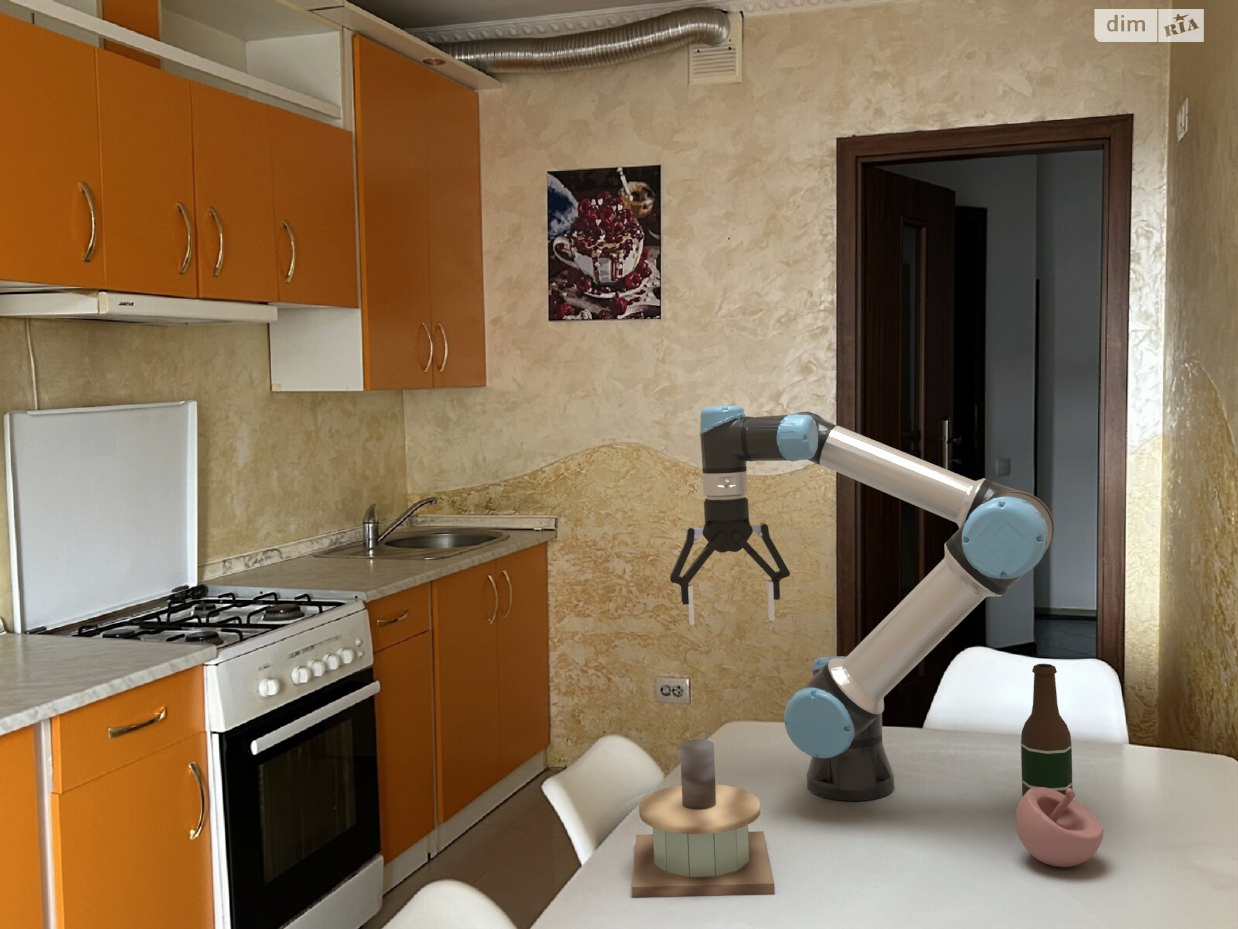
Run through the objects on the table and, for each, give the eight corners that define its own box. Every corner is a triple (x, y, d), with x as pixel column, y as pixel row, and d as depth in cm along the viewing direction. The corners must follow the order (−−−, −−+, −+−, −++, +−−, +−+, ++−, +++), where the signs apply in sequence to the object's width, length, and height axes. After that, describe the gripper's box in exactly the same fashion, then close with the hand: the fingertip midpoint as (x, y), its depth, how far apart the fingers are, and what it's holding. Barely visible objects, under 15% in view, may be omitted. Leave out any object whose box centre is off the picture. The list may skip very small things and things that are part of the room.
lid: (756, 790, 188) (753, 725, 187) (764, 832, 170) (762, 761, 169) (640, 793, 189) (638, 729, 188) (637, 835, 171) (634, 765, 170)
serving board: (763, 840, 189) (763, 831, 189) (774, 894, 169) (774, 883, 169) (636, 844, 190) (636, 834, 190) (632, 897, 170) (632, 887, 170)
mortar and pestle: (1095, 886, 167) (1093, 806, 166) (1007, 871, 173) (1005, 793, 173) (1111, 856, 177) (1109, 780, 177) (1027, 843, 184) (1025, 769, 183)
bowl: (745, 839, 186) (743, 794, 186) (751, 875, 172) (749, 827, 172) (655, 841, 187) (653, 797, 187) (653, 878, 173) (651, 830, 173)
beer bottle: (1048, 822, 192) (1045, 673, 190) (1012, 808, 199) (1008, 664, 197) (1083, 812, 195) (1080, 666, 194) (1046, 799, 202) (1043, 657, 201)
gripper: (652, 502, 200) (659, 629, 202) (802, 495, 200) (808, 621, 202) (651, 499, 208) (657, 620, 209) (796, 491, 208) (801, 613, 209)
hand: (731, 621), depth 205 cm, fingers open, 13 cm apart
